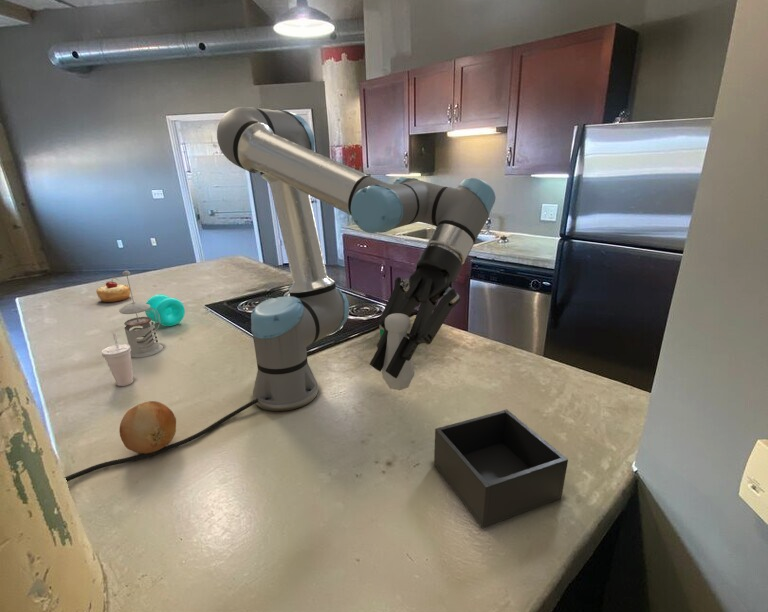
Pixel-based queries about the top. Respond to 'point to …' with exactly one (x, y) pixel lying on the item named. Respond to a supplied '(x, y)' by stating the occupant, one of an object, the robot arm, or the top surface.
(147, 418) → the onion
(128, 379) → the smoothie
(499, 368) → the top surface
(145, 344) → the french press
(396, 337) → the salt shaker
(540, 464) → the basket
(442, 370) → the top surface
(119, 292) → the pastry
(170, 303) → the turquoise short spool shape
